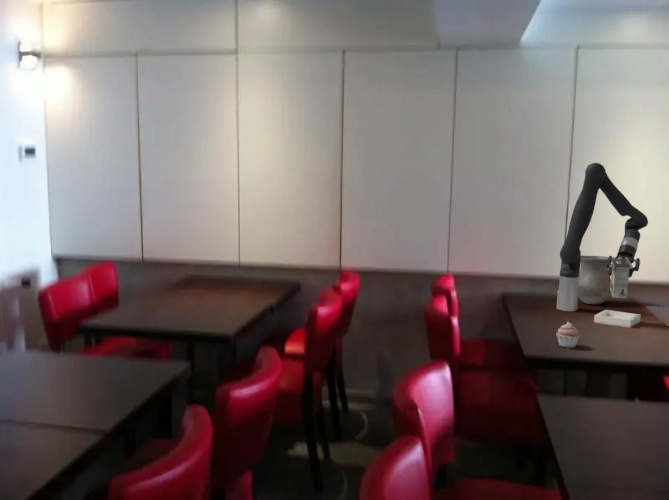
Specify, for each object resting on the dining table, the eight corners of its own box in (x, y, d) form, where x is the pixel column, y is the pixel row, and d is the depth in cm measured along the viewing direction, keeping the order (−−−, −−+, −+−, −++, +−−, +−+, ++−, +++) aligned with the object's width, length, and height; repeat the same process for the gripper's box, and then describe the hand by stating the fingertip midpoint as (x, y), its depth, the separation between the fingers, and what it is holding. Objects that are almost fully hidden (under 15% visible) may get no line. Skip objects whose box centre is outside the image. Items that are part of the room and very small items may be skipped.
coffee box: (609, 290, 314) (612, 258, 309) (624, 290, 313) (626, 258, 308) (612, 297, 306) (615, 265, 301) (627, 298, 304) (630, 265, 299)
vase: (565, 301, 360) (567, 255, 357) (591, 298, 368) (593, 254, 365) (593, 308, 342) (595, 260, 339) (620, 305, 350) (623, 258, 347)
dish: (594, 322, 310) (594, 315, 310) (605, 316, 323) (605, 309, 322) (630, 327, 300) (630, 320, 300) (640, 321, 312) (640, 314, 312)
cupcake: (560, 341, 275) (561, 318, 274) (582, 345, 269) (584, 321, 268) (551, 346, 268) (552, 322, 266) (574, 350, 262) (575, 325, 261)
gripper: (611, 242, 317) (601, 269, 310) (642, 245, 308) (634, 272, 301) (613, 252, 322) (604, 279, 315) (645, 255, 313) (636, 282, 306)
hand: (619, 275), depth 308 cm, fingers closed on coffee box, 8 cm apart
